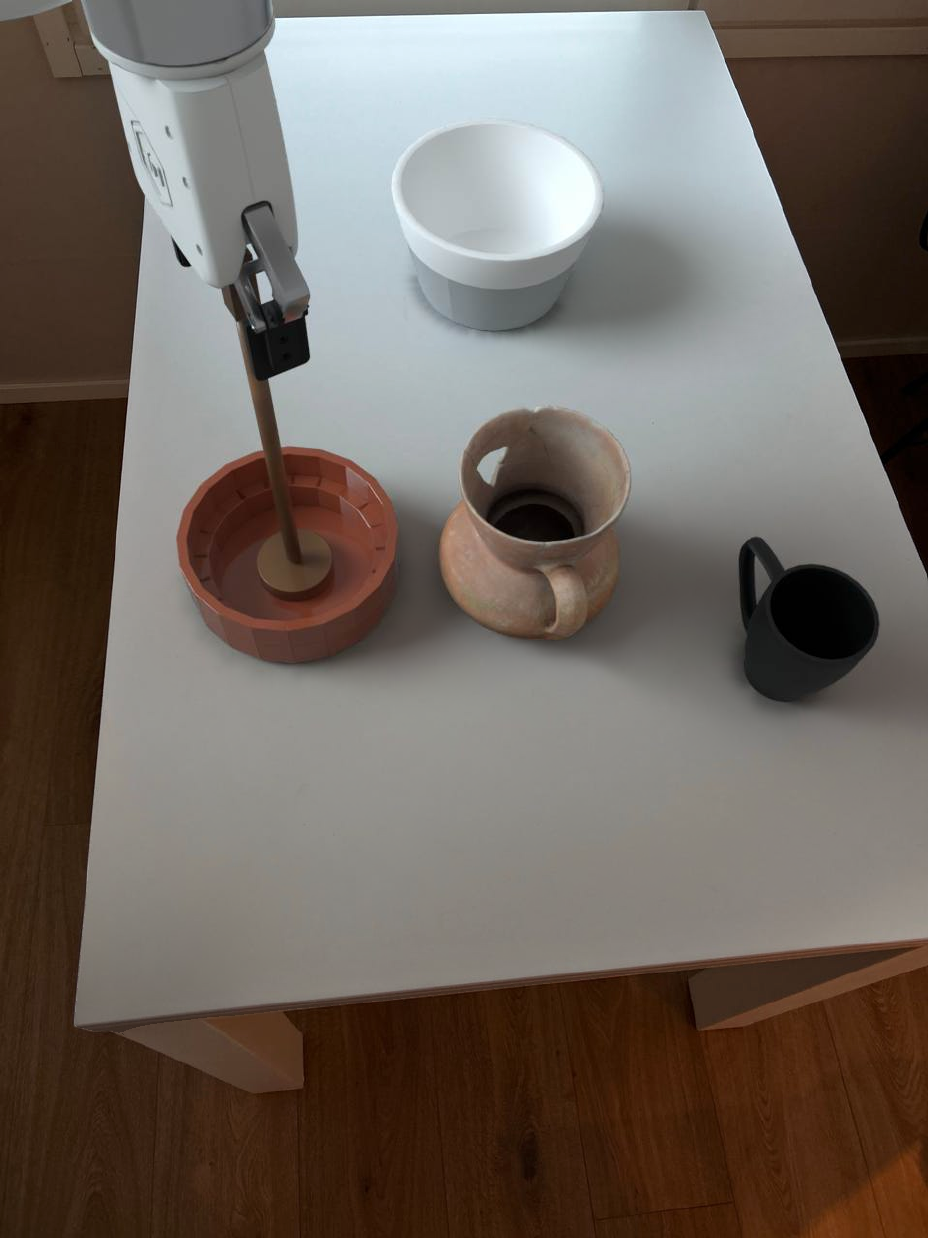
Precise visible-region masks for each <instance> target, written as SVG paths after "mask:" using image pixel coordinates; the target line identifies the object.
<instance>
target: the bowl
mask: <svg viewBox="0 0 928 1238" xmlns="http://www.w3.org/2000/svg"><path fill="white" fill-rule="evenodd" d="M390 188H391V189H390V190H391V195H392V200H393V204H394V209H395V211H396V214H397V217H398V220H399V223H400V227H401V230H402V233H403V237H404V239H405V241H406V245H407V249H408V251H409V255H410V258H411V260H412V264H413V267H414V270H415V273H416V277H417V279H418V280H417V281H418V283H419V286H420V289H421V291H422V293H423V295H424V297H425V299H426V301H427V302H428V303H429V304H430V306H431V307H432V309H434V310H435V311H436V312H438V313H439V314H440V315H441V316H443V317H444V318H446V319H448V320H449V321H451V322H453V323H455V324H459V325H461V326H464V327H466V328H471V329H474V330H475V329H476V330H480V331H494V332H496V331H510V330H513V329H518V328H522V327H525V326H527V325H530V324H532V323H534V322H536V321H537V320H539V319H541V318H542V317H544V316H545V315H546V314H547V313H548V312H549V311H550V310H551V309H552V308H553V306H554V305H555V303H556V301H557V299H558V298H559V297H560V295H561V293H562V290H563V288H564V287H565V284H566V283H567V281H568V279H569V277H570V276H571V273H572V271H573V269H574V268H575V266H576V264H577V262H578V259H579V258H580V256H581V254H582V253H583V251H584V249H585V247H586V245H587V243H588V241H589V240H590V237H591V236H592V235H593V232H594V230H595V228H596V226H597V224H598V223H599V220H600V218H601V217H602V213H603V210H604V209H603V208H604V206H605V187H604V185H603V181H602V178H601V175H600V172H599V171H598V169H597V168H596V166H595V164H594V163H593V160H592V159H591V158H589V156H588V155H587V154H586V153H585V152H584V151H583V150H582V149H581V148H580V147H578V146H577V145H576V144H574V143H573V142H571V141H570V140H568V139H567V138H566V137H564V136H562V135H560V134H558V133H556V132H554V131H552V130H550V129H547V128H545V127H542V126H539V125H536V124H532V123H529V122H524V121H519V120H514V119H505V118H475V119H474V118H473V119H472V118H471V119H468V120H461V121H456V122H452V123H449V124H446V125H443V126H440V127H437V128H435V129H433V130H430V131H429V132H427V133H426V134H423V135H422V136H420V137H419V138H418V139H416V140H415V141H414V142H413V143H411V144H410V145H409V146H408V147H407V148H406V149H405V151H404V152H402V155H400V157H399V158H398V161H397V163H396V166H395V167H394V170H393V172H392V177H391V185H390Z"/></svg>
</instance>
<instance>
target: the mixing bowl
mask: <svg viewBox="0 0 928 1238" xmlns="http://www.w3.org/2000/svg"><path fill="white" fill-rule="evenodd" d="M281 449H282V454H283V460H284V465H285V470H286V475H287V481H288V486H289V491H290V496H291V502H292V507H293V512H294V517H295V523H296V528H299V529H306V530H310V531H313V532H315V533H317V534H318V535H320V536H321V537H322V538H324V539H325V541H326V542H327V543H328V544H329V546H330V548H331V551H332V556H333V563H334V573H333V577H332V579H331V581H330V583H329V585H328V586H327V587H326V588H325V589H324V590H323V591H322V592H321V593H320V594H318V595H317V596H315V597H313V598H310V599H308V600H304V601H286V600H282V599H279V598H277V597H275V596H273V595H272V594H271V593H269V592H268V591H267V590H266V589H265V587H264V586H263V584H262V582H261V579H260V576H259V572H258V569H257V556H258V553H259V550H260V548H261V547H262V545H263V544H264V543H265V541H266V540H267V539H269V538H270V537H271V536H273V535H274V534H276V533H278V532H280V531H281V530H280V525H279V521H278V516H277V511H276V507H275V502H274V497H273V493H272V488H271V484H270V479H269V474H268V470H267V465H266V461H265V456H264V451H263V449H262V450H261V449H260V450H257V451H253V452H251V453H249V454H247V455H244V456H242V457H239V458H237V459H235V460H232V461H230V462H228V463H226V464H224V465H223V466H222V467H221V468H219V469H218V470H217V471H216V472H214V473H213V474H212V475H210V476H209V477H207V479H206V480H204V481H203V482H202V483H201V484H200V485H199V486H198V488H197V489H196V490H195V492H194V493H193V495H192V497H190V500H189V501H188V502H187V504H186V505H185V507H184V508H183V510H182V514H181V518H180V522H179V526H178V529H177V533H176V537H175V538H176V548H177V558H178V566H179V570H180V572H181V574H182V577H183V579H184V582H185V584H186V586H187V589H188V591H189V594H190V597H191V599H192V602H193V603H194V605H195V608H196V609H197V611H198V613H199V614H200V616H201V618H202V620H203V622H204V624H205V626H206V627H207V628H208V629H209V630H210V631H211V632H212V633H213V634H215V635H216V636H217V637H218V638H219V639H221V640H222V641H223V642H224V643H225V644H226V645H227V646H229V647H230V648H231V649H233V650H236V651H239V652H241V653H244V654H246V655H248V656H251V657H253V658H256V659H258V660H260V661H261V660H262V661H268V662H278V663H290V664H291V663H292V664H297V663H303V662H309V661H314V660H318V659H319V660H320V659H324V658H329V657H331V656H333V655H335V654H337V653H339V652H341V651H343V650H345V649H347V648H349V647H351V646H353V645H355V644H357V643H359V642H360V641H361V640H363V638H364V637H366V636H367V635H368V634H369V633H370V632H371V631H372V630H373V629H374V628H375V627H376V626H377V625H378V624H379V623H381V622H382V620H383V619H384V618H385V615H386V613H387V611H388V609H389V607H390V605H391V603H392V601H393V600H394V597H395V596H396V595H397V594H396V593H397V588H398V580H399V571H400V535H399V534H400V533H399V525H398V521H397V517H396V513H395V508H394V505H393V502H392V500H391V499H390V497H389V496H388V494H387V493H386V491H385V490H384V488H383V487H382V485H381V484H380V482H379V481H378V480H377V478H375V476H373V475H372V474H370V472H368V471H366V469H364V468H363V467H361V466H360V465H358V464H357V463H356V462H354V461H353V460H351V459H349V458H347V457H344V456H341V455H339V454H336V453H334V452H330V451H328V450H325V449H322V448H315V447H314V448H313V447H303V446H294V445H293V446H292V445H291V446H290V445H289V446H288V445H287V446H281Z"/></svg>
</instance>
